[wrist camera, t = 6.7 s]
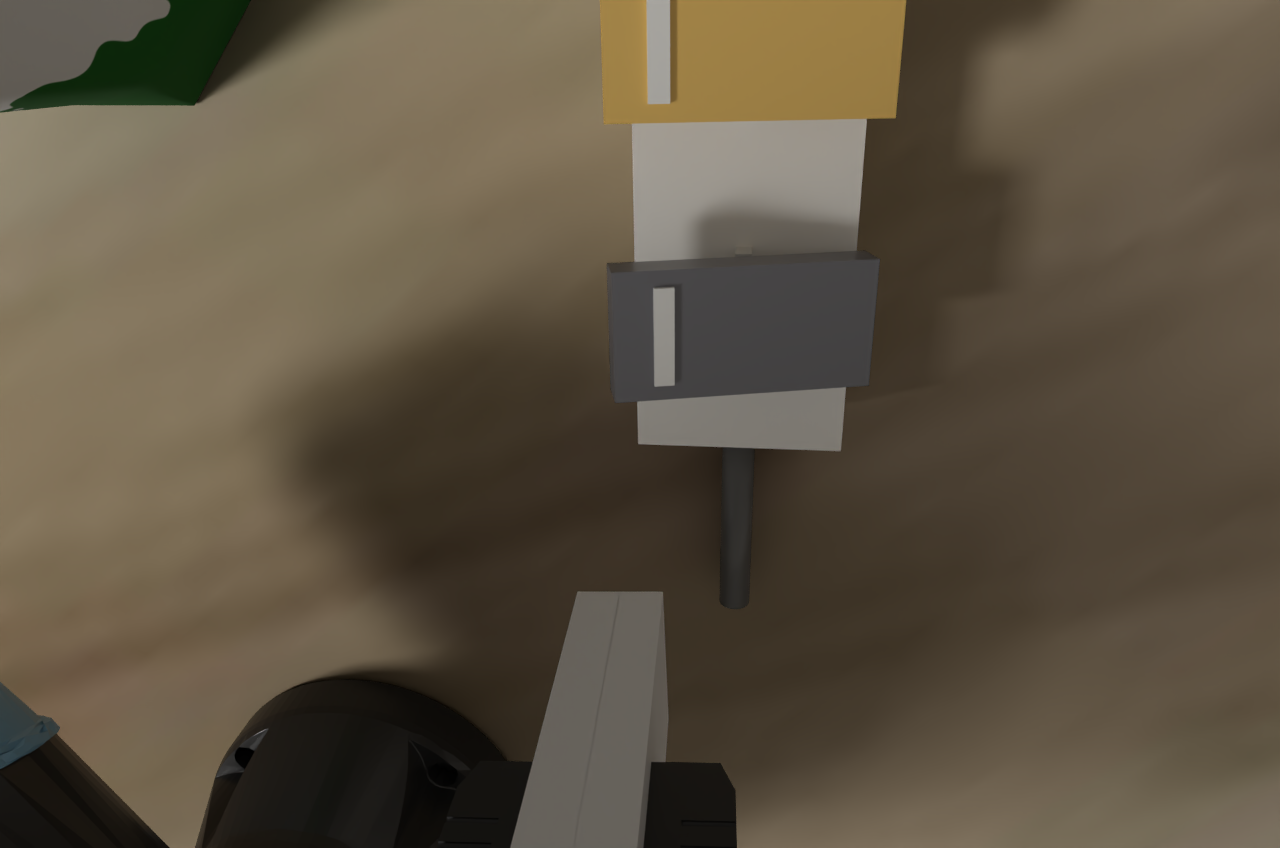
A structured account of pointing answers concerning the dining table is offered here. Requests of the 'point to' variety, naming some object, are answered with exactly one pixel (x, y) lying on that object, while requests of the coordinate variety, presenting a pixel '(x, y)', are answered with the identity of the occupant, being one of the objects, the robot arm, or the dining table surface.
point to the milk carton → (110, 50)
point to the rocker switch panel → (736, 227)
